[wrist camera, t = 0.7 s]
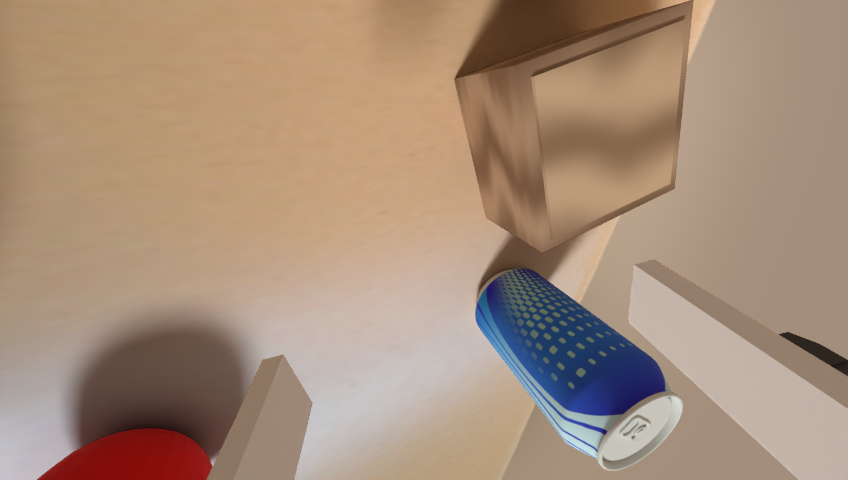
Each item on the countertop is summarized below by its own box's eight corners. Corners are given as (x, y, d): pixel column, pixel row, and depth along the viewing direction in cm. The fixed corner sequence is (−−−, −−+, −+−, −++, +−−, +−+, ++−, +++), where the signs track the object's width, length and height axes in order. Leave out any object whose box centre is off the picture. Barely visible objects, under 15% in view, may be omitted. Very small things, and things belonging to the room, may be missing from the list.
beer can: (536, 252, 32) (707, 362, 18) (538, 312, 36) (680, 443, 22) (464, 278, 30) (592, 423, 16) (474, 339, 34) (584, 499, 20)
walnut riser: (454, 78, 23) (518, 64, 15) (585, 31, 24) (698, -2, 17) (486, 217, 28) (544, 254, 21) (591, 170, 30) (677, 189, 23)
